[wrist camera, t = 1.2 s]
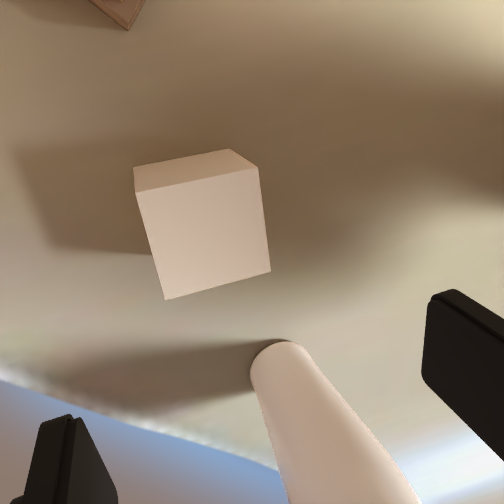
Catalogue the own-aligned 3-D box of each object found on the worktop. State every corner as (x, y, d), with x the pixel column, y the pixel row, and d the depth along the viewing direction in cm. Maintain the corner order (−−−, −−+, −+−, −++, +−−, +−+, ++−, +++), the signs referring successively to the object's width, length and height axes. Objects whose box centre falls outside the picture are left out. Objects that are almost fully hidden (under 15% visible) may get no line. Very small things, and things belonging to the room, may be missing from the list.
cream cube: (228, 148, 24) (257, 167, 19) (242, 234, 27) (270, 271, 21) (132, 166, 23) (135, 193, 17) (157, 254, 25) (165, 300, 20)
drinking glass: (320, 373, 34) (440, 554, 21) (253, 406, 33) (333, 615, 20) (304, 318, 31) (432, 490, 18) (228, 352, 30) (305, 560, 17)
